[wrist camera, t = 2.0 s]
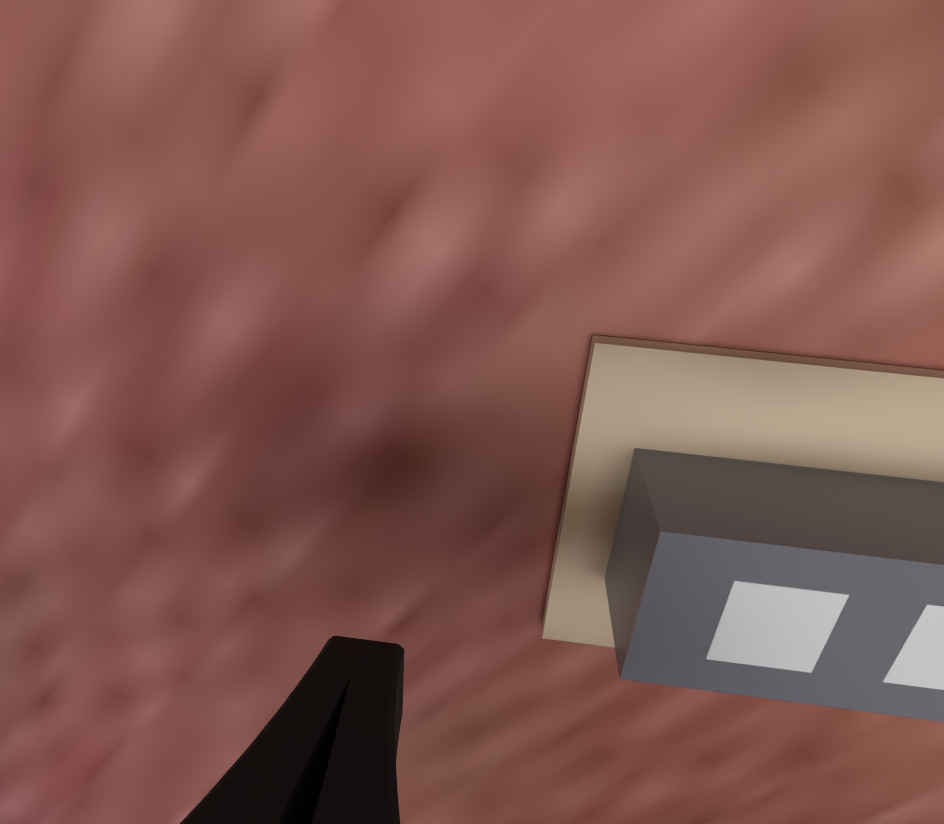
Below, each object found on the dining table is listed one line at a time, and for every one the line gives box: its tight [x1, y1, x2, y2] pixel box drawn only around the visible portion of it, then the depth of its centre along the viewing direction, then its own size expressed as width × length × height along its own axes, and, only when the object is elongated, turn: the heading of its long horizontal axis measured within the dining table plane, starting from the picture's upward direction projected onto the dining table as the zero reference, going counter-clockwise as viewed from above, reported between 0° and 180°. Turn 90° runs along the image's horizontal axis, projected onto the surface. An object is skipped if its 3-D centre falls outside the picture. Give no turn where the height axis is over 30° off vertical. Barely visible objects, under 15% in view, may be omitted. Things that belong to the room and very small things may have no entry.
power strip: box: [604, 448, 944, 722], centre depth 14 cm, size 4×14×4 cm, turn 86°
